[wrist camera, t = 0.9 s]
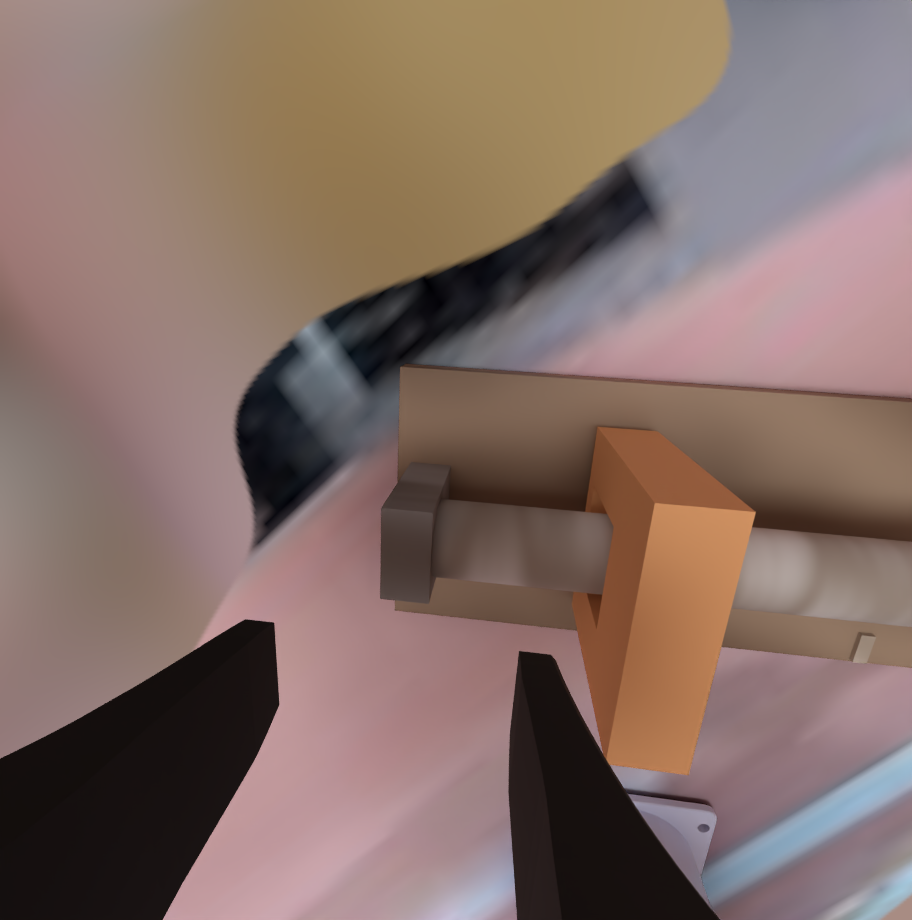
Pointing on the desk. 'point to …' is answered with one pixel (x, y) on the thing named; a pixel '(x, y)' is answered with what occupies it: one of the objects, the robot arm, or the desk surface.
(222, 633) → the robot arm
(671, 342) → the desk surface
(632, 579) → the orange rod slider
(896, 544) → the pipe stand
